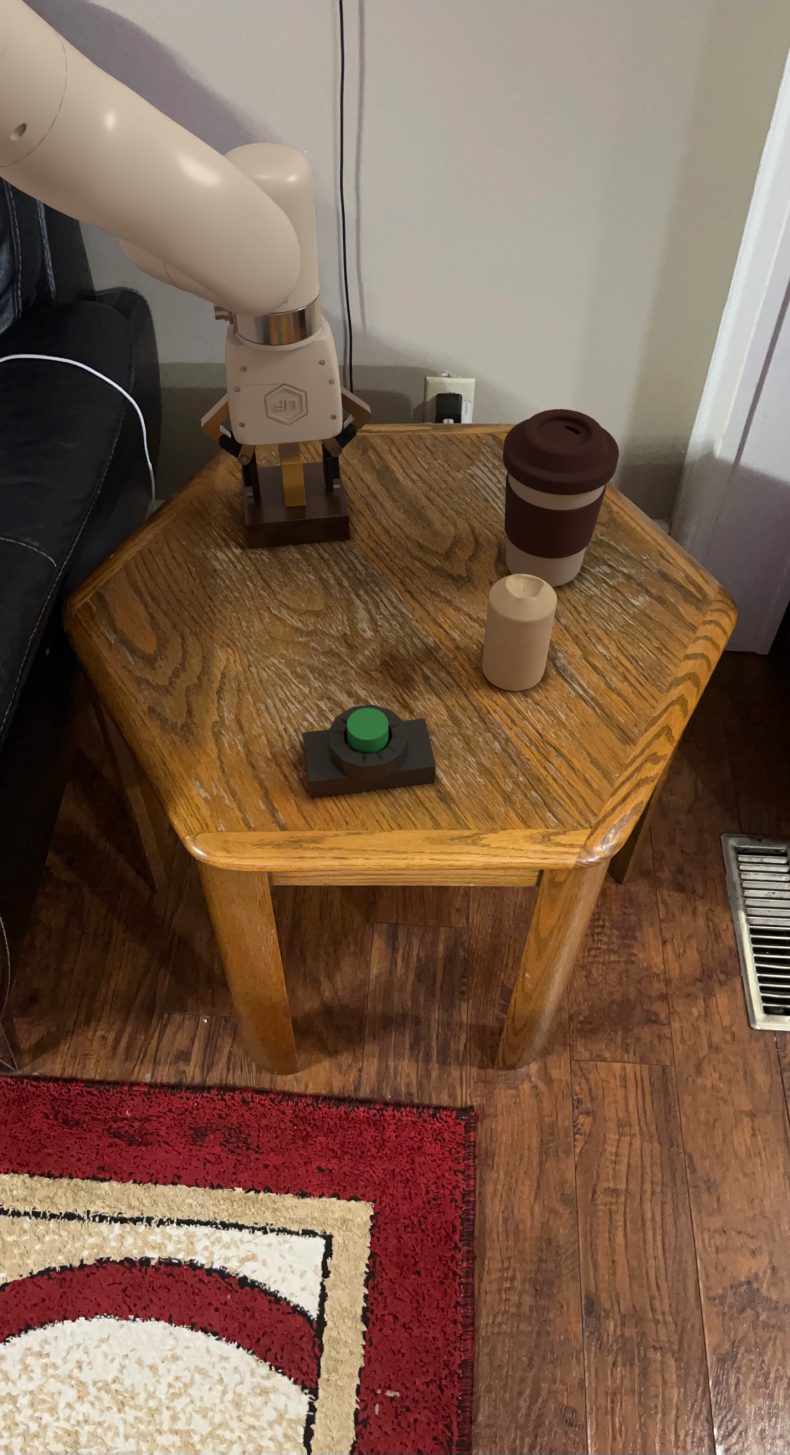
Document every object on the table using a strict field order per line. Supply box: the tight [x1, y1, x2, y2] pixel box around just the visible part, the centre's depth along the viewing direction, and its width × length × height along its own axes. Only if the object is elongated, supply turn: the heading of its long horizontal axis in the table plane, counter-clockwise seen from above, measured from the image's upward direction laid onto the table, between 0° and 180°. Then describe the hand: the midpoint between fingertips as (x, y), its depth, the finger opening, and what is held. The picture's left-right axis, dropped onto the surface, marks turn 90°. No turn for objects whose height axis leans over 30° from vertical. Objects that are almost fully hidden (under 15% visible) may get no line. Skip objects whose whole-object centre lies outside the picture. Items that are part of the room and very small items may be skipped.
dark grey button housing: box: [302, 704, 437, 798], centre depth 78 cm, size 10×6×4 cm, turn 99°
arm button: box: [347, 708, 388, 754], centre depth 76 cm, size 3×3×2 cm
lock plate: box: [240, 461, 351, 550], centre depth 98 cm, size 10×9×3 cm
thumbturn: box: [277, 442, 306, 507], centre depth 95 cm, size 5×2×5 cm, turn 9°
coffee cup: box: [502, 408, 620, 588], centre depth 89 cm, size 10×10×15 cm
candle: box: [481, 574, 558, 692], centre depth 82 cm, size 6×6×10 cm
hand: (292, 485), depth 96 cm, fingers open, 6 cm apart
